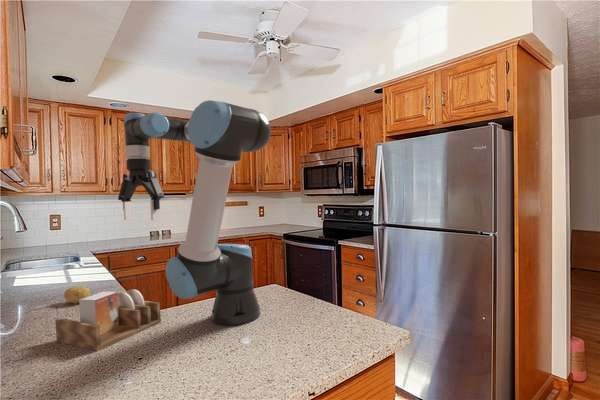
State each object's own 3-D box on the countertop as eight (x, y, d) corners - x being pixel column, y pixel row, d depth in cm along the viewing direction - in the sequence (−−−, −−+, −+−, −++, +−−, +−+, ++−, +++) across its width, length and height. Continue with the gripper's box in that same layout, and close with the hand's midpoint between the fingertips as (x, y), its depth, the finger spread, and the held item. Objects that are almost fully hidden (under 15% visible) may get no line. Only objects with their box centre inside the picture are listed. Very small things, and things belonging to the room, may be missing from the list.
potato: (76, 307, 121) (75, 290, 121) (59, 304, 126) (58, 288, 126) (94, 301, 127) (93, 285, 127) (77, 298, 132) (76, 283, 132)
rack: (160, 322, 102) (159, 289, 101) (97, 351, 84) (95, 311, 83) (122, 315, 109) (120, 285, 109) (56, 340, 91) (54, 304, 91)
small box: (96, 338, 89) (94, 300, 88) (80, 337, 90) (78, 299, 90) (119, 326, 96) (118, 291, 96) (104, 325, 98) (102, 290, 98)
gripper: (172, 156, 112) (176, 218, 112) (124, 162, 122) (127, 219, 123) (154, 154, 105) (158, 220, 105) (104, 161, 116) (108, 220, 116)
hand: (141, 219), depth 114 cm, fingers open, 13 cm apart
